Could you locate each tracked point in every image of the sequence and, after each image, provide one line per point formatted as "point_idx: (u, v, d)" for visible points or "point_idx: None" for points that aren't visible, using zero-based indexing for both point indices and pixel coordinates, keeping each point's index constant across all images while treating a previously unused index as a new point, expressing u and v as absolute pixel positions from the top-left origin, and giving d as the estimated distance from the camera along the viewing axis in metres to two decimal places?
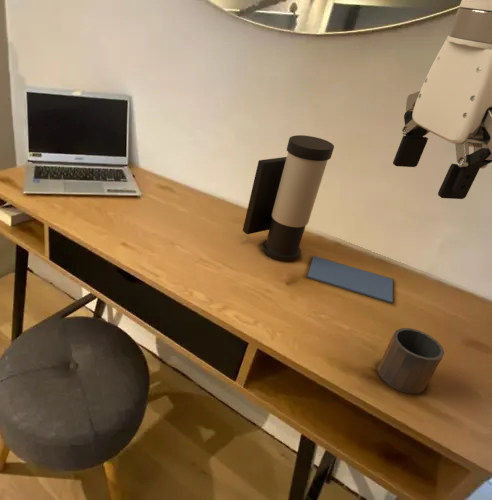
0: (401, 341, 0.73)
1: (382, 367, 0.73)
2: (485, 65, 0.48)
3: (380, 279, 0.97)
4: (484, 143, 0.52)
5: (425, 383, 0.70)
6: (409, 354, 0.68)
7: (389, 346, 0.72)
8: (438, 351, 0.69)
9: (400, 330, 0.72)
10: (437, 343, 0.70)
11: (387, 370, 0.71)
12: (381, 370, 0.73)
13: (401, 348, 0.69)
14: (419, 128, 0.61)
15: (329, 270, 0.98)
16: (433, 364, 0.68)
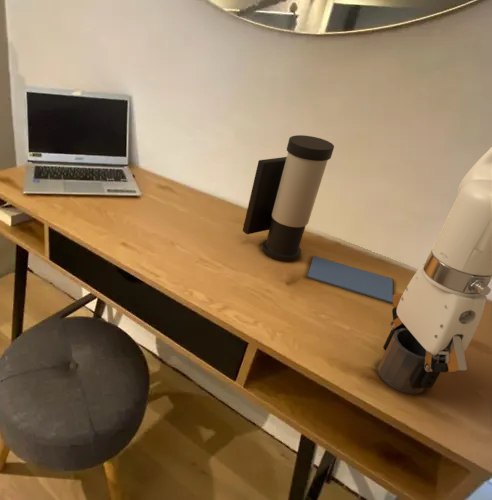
0: (401, 341, 0.73)
1: (382, 367, 0.73)
2: (451, 305, 0.61)
3: (380, 279, 0.97)
4: None
5: None
6: (409, 354, 0.68)
7: (389, 346, 0.72)
8: None
9: (400, 330, 0.72)
10: None
11: (387, 370, 0.71)
12: (381, 370, 0.73)
13: (401, 348, 0.69)
14: (404, 324, 0.73)
15: (329, 270, 0.98)
16: None
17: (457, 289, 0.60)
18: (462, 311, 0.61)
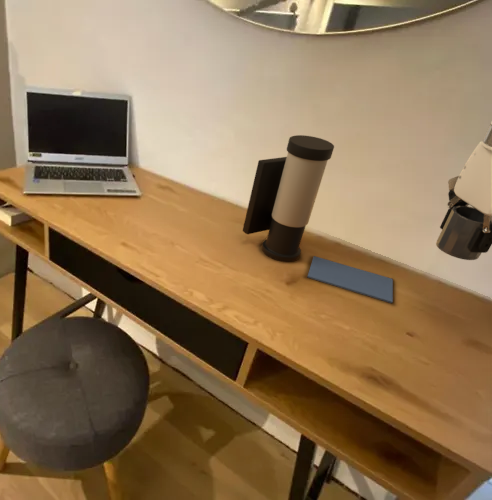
0: None
1: (441, 240, 0.83)
2: None
3: (380, 279, 0.97)
4: None
5: None
6: (468, 221, 0.78)
7: (448, 220, 0.82)
8: None
9: (457, 206, 0.82)
10: None
11: (446, 241, 0.82)
12: (440, 243, 0.83)
13: (461, 217, 0.79)
14: (460, 203, 0.83)
15: (329, 270, 0.98)
16: None
17: None
18: None
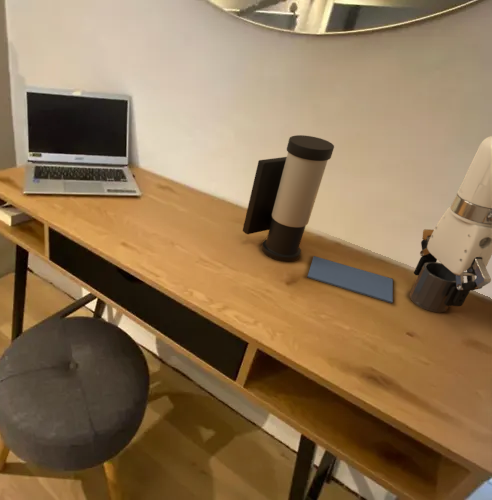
0: None
1: (413, 293, 0.91)
2: (473, 234, 0.80)
3: (380, 279, 0.97)
4: (473, 275, 0.83)
5: None
6: (436, 278, 0.86)
7: (419, 275, 0.90)
8: None
9: (428, 263, 0.91)
10: None
11: (418, 294, 0.90)
12: (412, 295, 0.91)
13: (430, 274, 0.87)
14: None
15: (329, 270, 0.98)
16: (455, 286, 0.86)
17: (478, 221, 0.79)
18: (482, 238, 0.79)
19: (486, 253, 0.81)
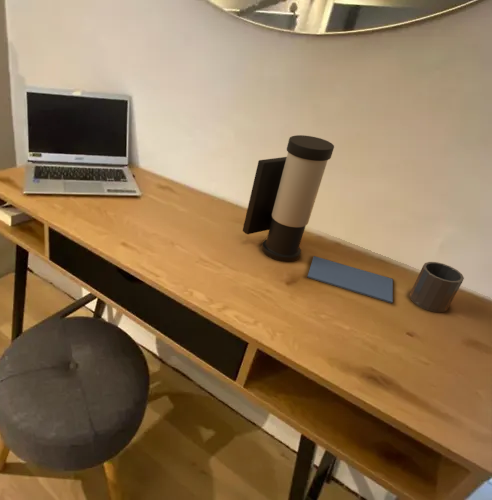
0: None
1: (413, 293, 0.91)
2: None
3: (380, 279, 0.97)
4: None
5: (448, 303, 0.88)
6: (436, 278, 0.86)
7: (419, 275, 0.90)
8: (459, 277, 0.88)
9: (428, 263, 0.91)
10: (458, 272, 0.89)
11: (418, 294, 0.90)
12: (412, 295, 0.91)
13: (430, 274, 0.87)
14: None
15: (329, 270, 0.98)
16: (455, 286, 0.86)
17: None
18: None
19: None
